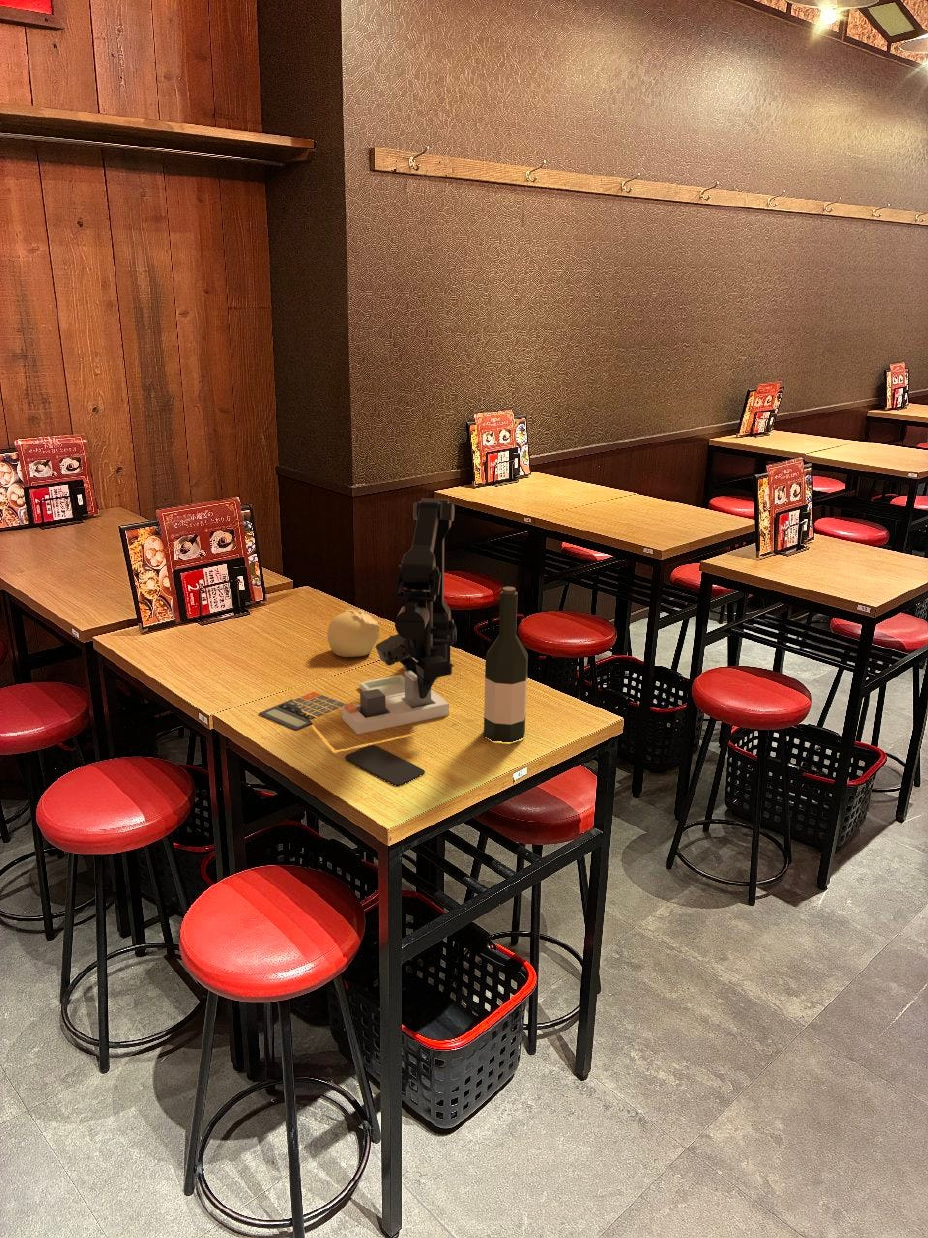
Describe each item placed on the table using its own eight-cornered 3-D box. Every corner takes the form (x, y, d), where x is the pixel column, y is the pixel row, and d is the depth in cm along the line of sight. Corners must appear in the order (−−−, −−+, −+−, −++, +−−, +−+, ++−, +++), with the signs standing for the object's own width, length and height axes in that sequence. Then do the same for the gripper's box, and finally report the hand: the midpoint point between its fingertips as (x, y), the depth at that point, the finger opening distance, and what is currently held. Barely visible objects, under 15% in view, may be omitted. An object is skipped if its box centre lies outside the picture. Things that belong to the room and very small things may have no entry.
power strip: (431, 702, 191) (431, 674, 189) (448, 717, 184) (449, 687, 182) (342, 720, 182) (341, 691, 179) (357, 736, 175) (356, 706, 173)
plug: (422, 694, 187) (422, 668, 185) (431, 702, 183) (431, 674, 181) (404, 698, 185) (404, 671, 183) (413, 705, 182) (413, 678, 180)
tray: (401, 681, 201) (401, 674, 200) (420, 698, 193) (420, 690, 192) (359, 689, 196) (359, 682, 196) (377, 706, 188) (377, 699, 188)
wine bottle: (512, 748, 171) (518, 598, 162) (475, 737, 176) (478, 590, 166) (533, 732, 178) (539, 586, 168) (496, 721, 182) (500, 579, 172)
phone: (397, 786, 157) (342, 756, 166) (397, 790, 157) (342, 760, 167) (427, 771, 162) (372, 743, 171) (427, 775, 162) (372, 747, 172)
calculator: (351, 704, 188) (296, 728, 177) (351, 708, 188) (296, 733, 177) (313, 689, 195) (258, 712, 184) (313, 693, 195) (258, 716, 184)
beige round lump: (387, 655, 216) (386, 613, 212) (342, 665, 209) (340, 622, 206) (364, 641, 225) (363, 600, 221) (320, 650, 218) (318, 608, 215)
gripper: (362, 614, 183) (363, 685, 188) (400, 643, 167) (401, 719, 172) (412, 606, 188) (412, 675, 193) (453, 634, 172) (453, 708, 177)
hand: (418, 694), depth 184 cm, fingers closed on plug, 4 cm apart
